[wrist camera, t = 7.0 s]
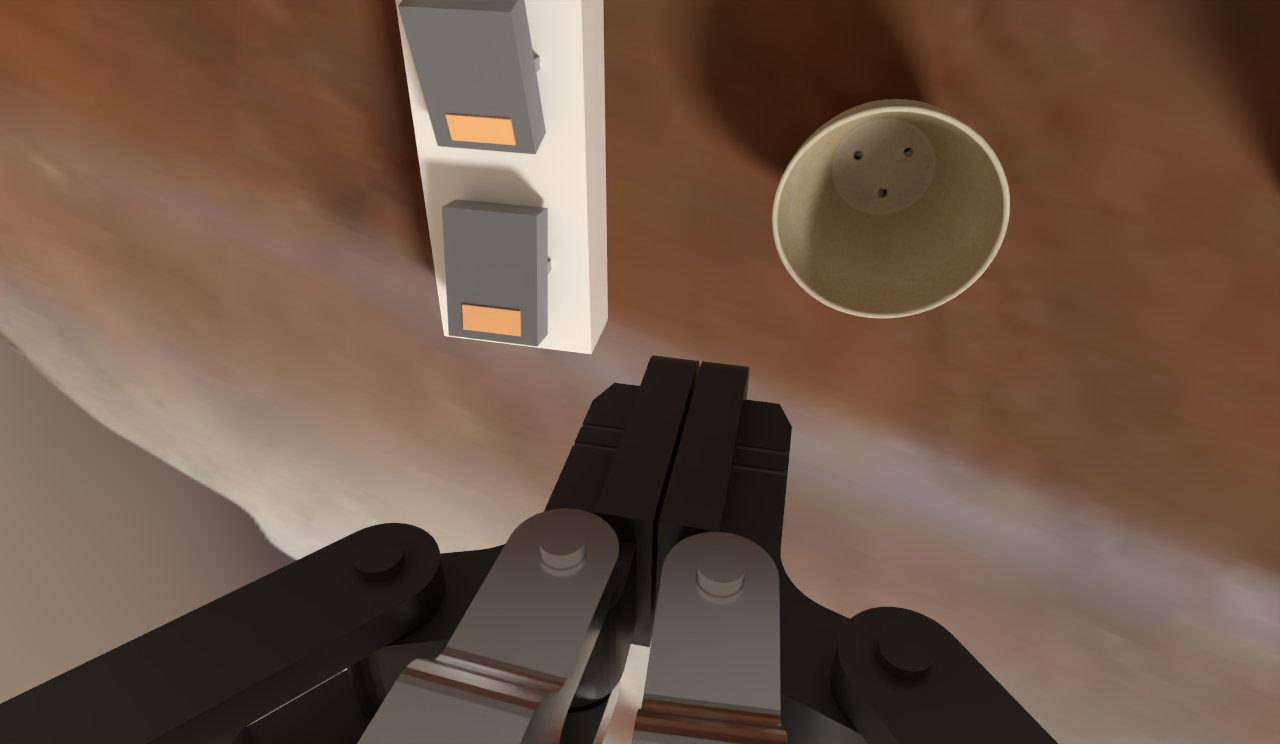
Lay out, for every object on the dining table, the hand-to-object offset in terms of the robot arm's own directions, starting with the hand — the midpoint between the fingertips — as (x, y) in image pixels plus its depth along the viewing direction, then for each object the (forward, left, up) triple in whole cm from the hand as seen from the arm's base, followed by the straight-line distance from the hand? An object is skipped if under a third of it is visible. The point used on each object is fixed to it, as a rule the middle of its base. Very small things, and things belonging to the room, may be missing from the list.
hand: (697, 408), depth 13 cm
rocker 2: (+14, +12, -27) cm, 33 cm away
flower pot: (-5, +7, -32) cm, 33 cm away
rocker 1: (+14, +2, -27) cm, 30 cm away
